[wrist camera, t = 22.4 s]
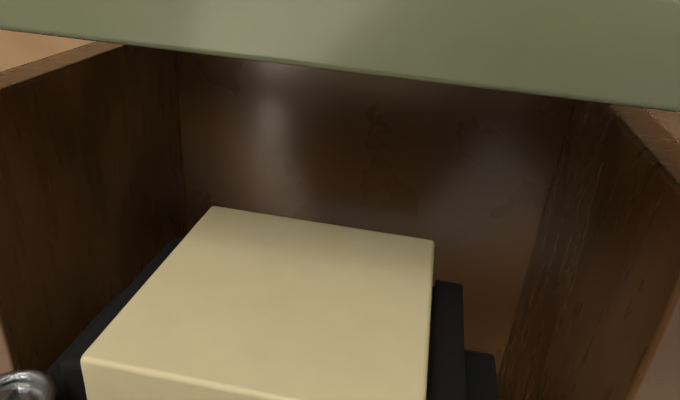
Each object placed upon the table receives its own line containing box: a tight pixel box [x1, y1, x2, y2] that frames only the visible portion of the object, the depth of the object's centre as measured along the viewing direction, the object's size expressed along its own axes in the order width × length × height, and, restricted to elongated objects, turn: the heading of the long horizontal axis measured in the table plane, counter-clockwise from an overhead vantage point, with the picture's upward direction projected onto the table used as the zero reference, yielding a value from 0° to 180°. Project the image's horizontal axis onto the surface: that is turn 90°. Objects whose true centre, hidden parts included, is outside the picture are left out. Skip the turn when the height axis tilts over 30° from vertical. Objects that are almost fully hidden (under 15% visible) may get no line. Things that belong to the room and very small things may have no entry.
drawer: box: [0, 0, 680, 400], centre depth 12 cm, size 20×13×9 cm, turn 176°
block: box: [80, 206, 435, 400], centre depth 10 cm, size 5×5×5 cm
